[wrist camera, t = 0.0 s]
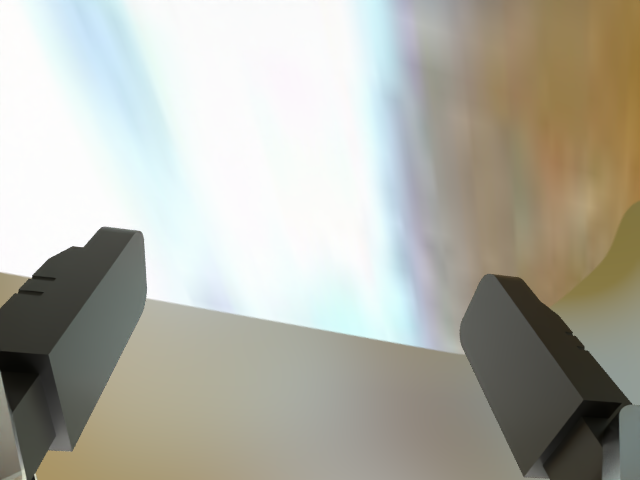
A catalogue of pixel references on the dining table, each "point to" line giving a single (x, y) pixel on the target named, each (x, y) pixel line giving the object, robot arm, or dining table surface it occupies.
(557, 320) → the robot arm
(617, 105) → the dining table surface
